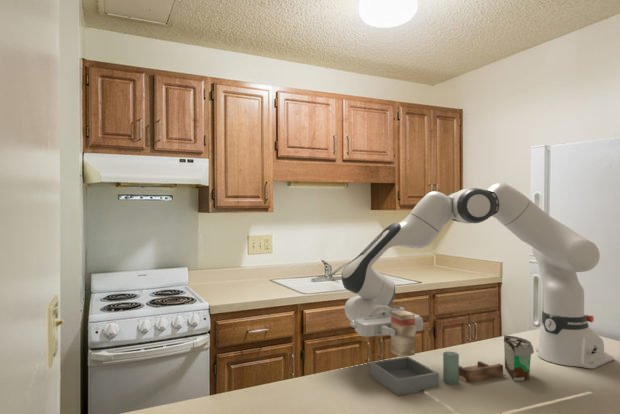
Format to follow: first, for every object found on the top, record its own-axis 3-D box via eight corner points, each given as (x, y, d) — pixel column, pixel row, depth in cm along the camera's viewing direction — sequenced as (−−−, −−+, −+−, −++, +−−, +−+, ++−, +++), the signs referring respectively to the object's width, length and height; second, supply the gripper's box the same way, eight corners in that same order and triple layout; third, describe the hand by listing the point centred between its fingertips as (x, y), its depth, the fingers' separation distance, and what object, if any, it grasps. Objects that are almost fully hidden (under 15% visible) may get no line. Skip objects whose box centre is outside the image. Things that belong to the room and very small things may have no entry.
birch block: (404, 349, 119) (405, 310, 119) (414, 355, 115) (415, 314, 115) (390, 351, 117) (391, 311, 117) (400, 357, 113) (400, 315, 113)
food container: (540, 387, 112) (540, 349, 112) (515, 385, 113) (515, 348, 114) (526, 370, 124) (526, 335, 124) (503, 368, 126) (503, 334, 126)
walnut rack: (481, 366, 127) (481, 354, 127) (506, 377, 119) (506, 364, 119) (443, 373, 122) (443, 360, 122) (466, 385, 113) (466, 372, 113)
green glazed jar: (451, 379, 117) (451, 350, 117) (462, 385, 114) (462, 355, 114) (440, 382, 116) (440, 352, 116) (450, 387, 112) (450, 357, 112)
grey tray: (408, 369, 125) (408, 356, 125) (438, 387, 112) (438, 373, 112) (370, 375, 120) (370, 362, 120) (398, 395, 107) (398, 380, 107)
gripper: (347, 312, 124) (371, 324, 111) (406, 306, 132) (435, 317, 119) (346, 333, 124) (371, 348, 111) (405, 327, 132) (435, 339, 119)
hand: (404, 332), depth 115 cm, fingers closed on birch block, 4 cm apart
